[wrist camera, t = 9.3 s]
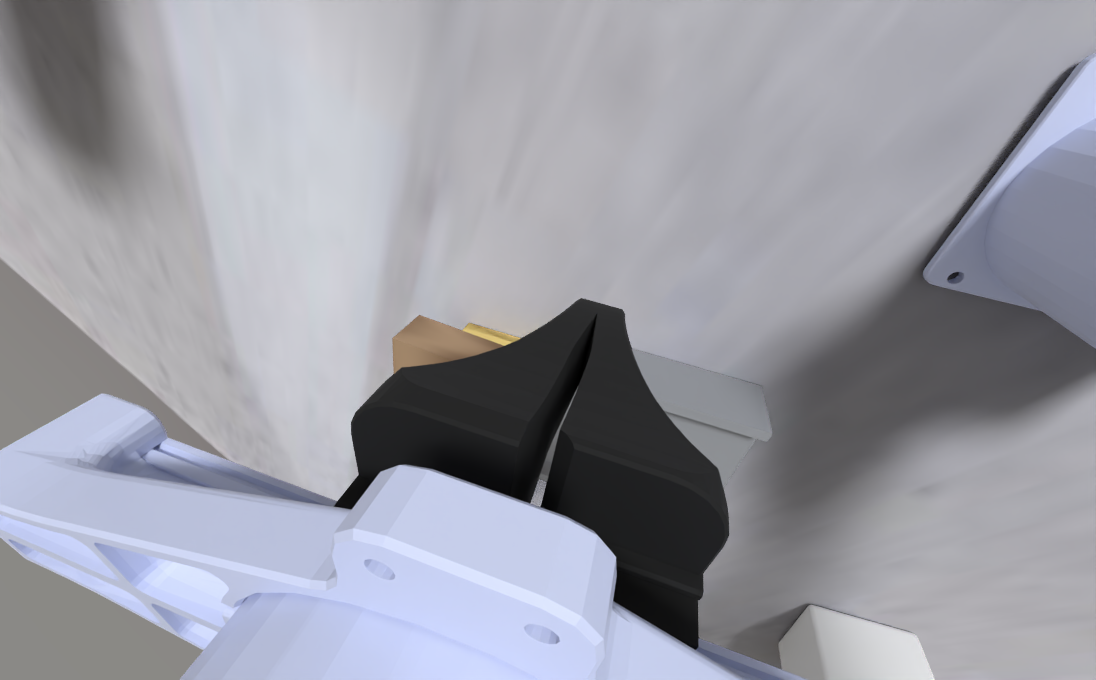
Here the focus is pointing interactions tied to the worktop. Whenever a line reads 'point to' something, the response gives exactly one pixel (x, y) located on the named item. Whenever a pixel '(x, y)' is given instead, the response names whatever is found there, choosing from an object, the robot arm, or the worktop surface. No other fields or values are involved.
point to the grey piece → (702, 411)
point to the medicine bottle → (850, 649)
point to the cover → (435, 344)
